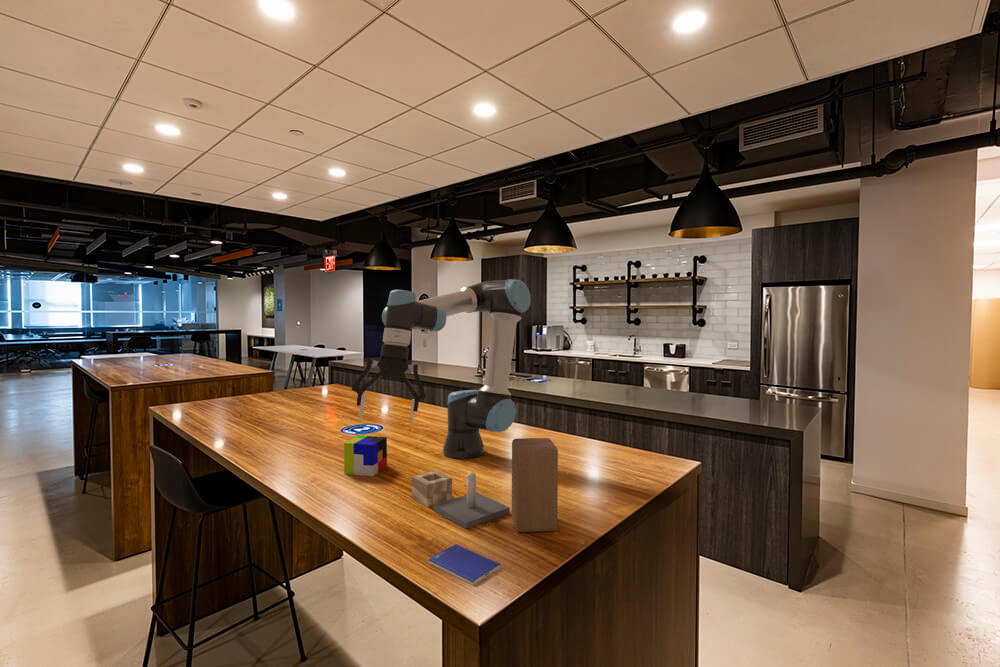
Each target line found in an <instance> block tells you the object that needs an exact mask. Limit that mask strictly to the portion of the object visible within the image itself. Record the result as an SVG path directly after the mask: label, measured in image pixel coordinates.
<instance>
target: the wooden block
mask: <svg viewBox="0 0 1000 667" xmlns="http://www.w3.org/2000/svg"><path fill="white" fill-rule="evenodd" d="M558 473H559V450H558V448H557V446H556V444H555V443H554V442H553V440H552V439H551V438H549V437H535V438H534V437H533V438H530V437H529V438H526V437H524V438H523V437H522V438H521V437H520V438H514V439H512V442H511V517H512V520H513V523H514V528H515V530H516V532H518V533H528V532H529V533H531V532H554V531H557V528H558V500H559V497H558V496H559V494H558V492H559V490H558V488H559V484H558V483H559V481H558V480H559V474H558Z"/></svg>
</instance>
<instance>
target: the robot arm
mask: <svg viewBox="0 0 1000 667" xmlns="http://www.w3.org/2000/svg"><path fill="white" fill-rule="evenodd" d="M530 292H531V291H530V290H529V287H528V285H527V284H526V283H525V282H523V280H521V279H511V278H509V279H500V280H498V279H497V280H485V281H482V282H478V283H475V284H472V285H469V286H466V287H465V286H464V287H463V288H460V290H459V291H456V292H451V293H447V294H443V295H437V296H433V297H428V298H424V299H421V300H417V298H416V297H417V295H416V293H414V292H412V291H410V290H406V289H405V290H404V289H393V290H391V291H389V296H388V300H387V303H386V305H387V306H386V307H385V308H384V309H383V311H382V314H381V320H382V323H383V325H384V329H383V330H384V331H383V336H382V342H383V344H382V345H381V350H380V357H379V360H375V359H373V358H369V359H368V360H367V364H366V367H365V368H364V370H363V371H362V372H361V374H360V375H359V377H358V378H357V380H356V381H355V383H354V384H353V385H352V387H351V391H352V392H355V393H356V394H357V399H356V406H359V412H358V419H359V420H360V419H363V418H364V411H365V404H366V395H367V394H364V393H365V392H366V391H367V390H368V389H369V388H370V387H372V386H373V385H374V383H376V382H377V381H379V379H380V378H382V376H384V377H385V378H393V379H399V378H400V379H401V380H402V381H403V383H404V385H405V386H406V387H407V389H408V390H409V392H410V393H411V395H412V397H413V398H414V399H413V398H412V399H411V404H410V412H409V420H408V424H412V423H413V415H414V412H418V410H419V404H420V402H419V401H420V400H422V399H426V397H427V395H426V392H425V389H424V386H423V384H422V380H421V378H420V375H419V372H418V371H419V369H418V368H419V366H418V364H416V363H415V364H409V363H408V360H409V352H410V348H409V347H408V346H409V345H410V344H411V338H412V330H425V331H428V332H440V331H442V330H443V329H444V328H445V326H446V324H447V317H449V316H453V315H457V314H460V313H466V314H471V313H475V312H478V313H480V312H482V313H483V312H487V313H489V316H490V317H491V319H492V325H491V331H490V337H489V344H488V345H489V346H488V353H487V360H486V366H485V373H484V380H483V381H484V382H483V386H482V387H480V388H479V389H467V390H466V389H465V390H458V391H453V392H450V393H449V394H448V396H447V403H446V404H447V435H446V436H445V440H444V443H443V444H444V445H443V448H442V453H443V455H444V456H445V457H447V458H452V459H473V458H477V457H480V456H482V455H484V453H485V446H484V443H483V439H482V437H481V433H480V430H484V431H488V432H492V433H494V432H496V433H503V432H506V431H507V430H508V429H509V428H510V427H511V426H512V424H513V423H514V421H515V418H516V414H517V408H516V404H515V402H514V401H513V400H512V399H511V398H512V394H511V392H510V391H509V389H508V388H509V382H510V381H509V380H510V376H511V375H510V374H511V367H512V357H513V354H514V353H513V351H514V344H515V337H516V330H517V324H518V322H519V321H520V320H522V315H523V313H525V312H528V310H529V308H530V306H531V301H532V300H531V293H530ZM376 366H377V367H378V369H379V371H378V372H377V374H375V375H374V376H373V377H371V379H370V380H369V381H367V382H366V383H364V385H363V386H362V387H361V388H360V386H361V385H362V383H363V382H364V380H365V378H366V377H367V376H368V374H369V373H370V372H371V370H372V368H373V369H374V368H375V367H376ZM408 369H409V371H410V372H412V373H413V376H414V380H415V381H416V385H417V387H418V390H419V393H420V394H418V393H417V391H416V390H415V388H414V387H413V384H412V383H411V382H410V381H409V379H408V377H407V376H406V374H405V373H406V372H407V371H408Z"/></svg>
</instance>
